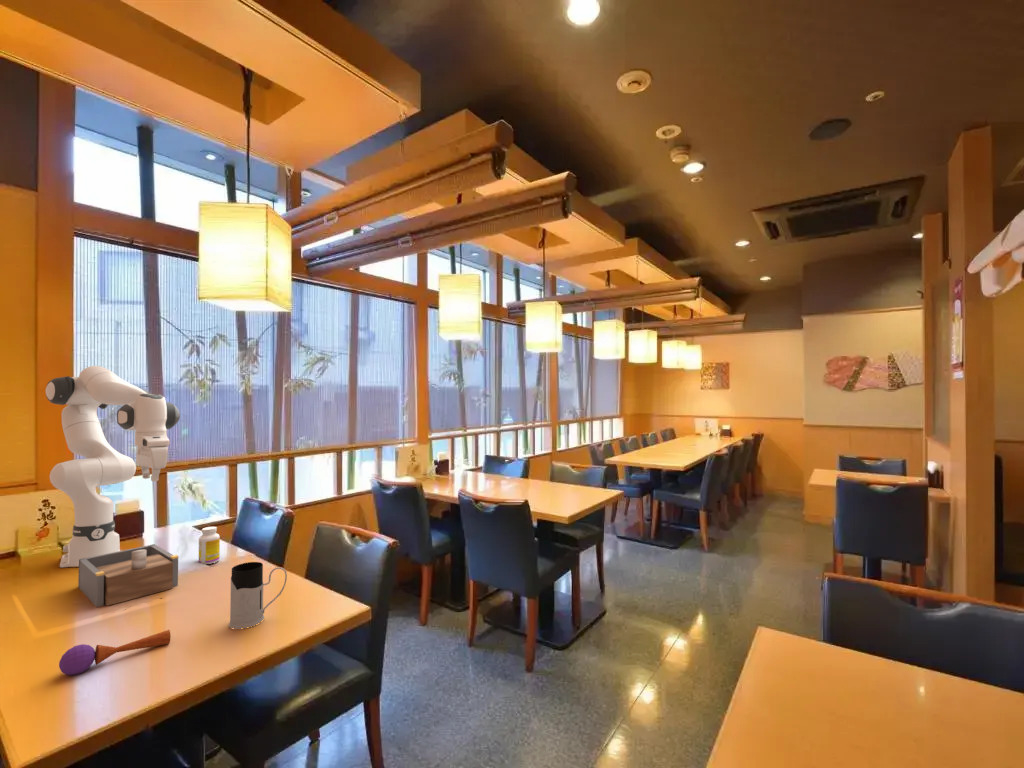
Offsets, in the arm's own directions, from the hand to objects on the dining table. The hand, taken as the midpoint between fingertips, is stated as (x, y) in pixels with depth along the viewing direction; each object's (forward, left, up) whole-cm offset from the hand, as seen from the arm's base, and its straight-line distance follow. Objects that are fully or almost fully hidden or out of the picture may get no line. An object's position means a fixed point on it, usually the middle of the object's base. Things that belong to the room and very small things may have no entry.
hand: (150, 479), depth 166 cm
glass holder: (+65, +8, -33) cm, 73 cm away
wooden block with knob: (+17, -8, -32) cm, 37 cm away
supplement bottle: (+2, +18, -33) cm, 38 cm away
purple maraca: (+59, -21, -34) cm, 71 cm away
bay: (+10, -8, -33) cm, 35 cm away
